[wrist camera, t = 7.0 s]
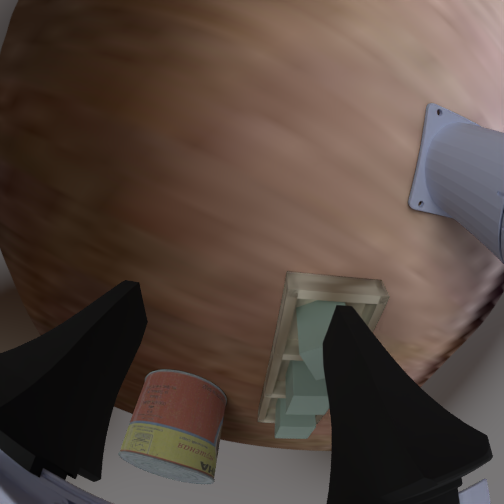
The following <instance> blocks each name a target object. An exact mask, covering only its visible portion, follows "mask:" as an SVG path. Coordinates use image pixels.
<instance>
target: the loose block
mask: <svg viewBox="0 0 504 504" xmlns="http://www.w3.org/2000/svg"><path fill="white" fill-rule="evenodd" d="M336 305H344V306H346V303H345V302H335V301H322V300H316V301H314V302H311V303H308V304H305V305H302V306H300V307H297V308H296V315H297V328H298V343H299V354H300V356H301V358H302V359H303V361H304V362H305V364H306V365H307V367H308V369H309V370H310V372H311V373H312V375H313V376H314V378H315V380H320V379H323V378H325V375H324V368H323V340H324V338H325V335H326V332H327V330H328V327H329V324H330V322H331V319H332V316H333V313H334V310H335V308H336Z"/></svg>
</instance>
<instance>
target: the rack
mask: <svg viewBox="0 0 504 504" xmlns="http://www.w3.org/2000/svg"><path fill="white" fill-rule="evenodd" d="M389 297H390V296H389V294H388V292H387V290H386V288H385V286H384V284H383V282H382V280H373V279H362V278H351V277H340V276H329V275H319V274H308V273H298V272H288V271H287V274H286V279H285V285H284V290H283V295H282V301H281V306H280V311H279V316H278V321H277V326H276V331H275V336H274V341H273V346H272V350H271V355H270V360H269V364H268V369H267V374H266V378H265V383H264V387H263V391H262V396H261V400H260V404H259V409H258V422H267V423H275V413H276V403H277V400H278V398H286V372H287V369H288V366H289V362H290V360H296V361H303V359H302V358H301V356H300V354H299V343H298V328H297V315H296V308H297V307H300V306H302V305H305V304H308V303H311V302H314V301H316V300H322V301H335V302H345V303H346V306H352V307H353V308H354V309H355V310H356V312H357V313H358V314H359V315H360V317H361V318H362V319H363V321H364V322H365V323H366V325H367V326H368V327H369V329H370V330H371V331H372V333H373V331H374V329H375V327H376V325H377V323H378V321H379V319H380V317H381V314H382V312H383V310H384V308H385V306H386V304H387V301H388V299H389ZM322 417H323V415H315V420H316V424H318V422H319V421H320V420H321V418H322Z"/></svg>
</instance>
